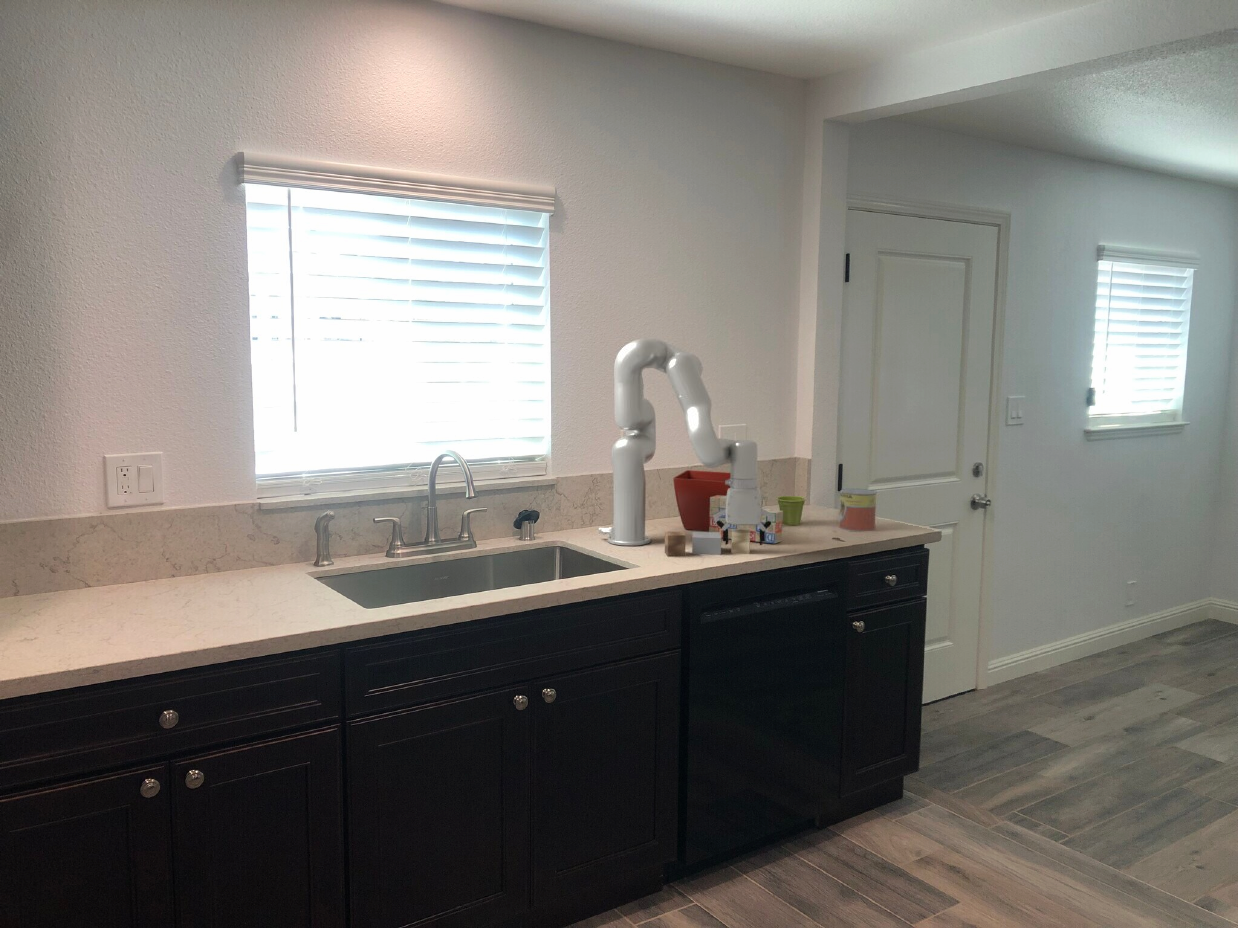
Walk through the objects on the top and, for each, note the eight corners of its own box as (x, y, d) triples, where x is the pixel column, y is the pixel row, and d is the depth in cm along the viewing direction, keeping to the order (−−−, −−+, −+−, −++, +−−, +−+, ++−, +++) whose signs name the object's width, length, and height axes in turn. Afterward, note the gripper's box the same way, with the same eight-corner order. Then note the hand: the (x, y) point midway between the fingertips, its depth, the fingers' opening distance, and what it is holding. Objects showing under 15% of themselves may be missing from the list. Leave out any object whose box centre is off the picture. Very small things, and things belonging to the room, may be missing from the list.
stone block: (692, 554, 263) (692, 537, 262) (692, 548, 271) (692, 531, 270) (720, 555, 262) (721, 537, 262) (720, 549, 270) (720, 532, 270)
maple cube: (731, 553, 264) (731, 532, 264) (731, 549, 269) (732, 529, 268) (749, 554, 264) (749, 533, 263) (749, 550, 268) (750, 529, 268)
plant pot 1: (731, 535, 289) (733, 481, 287) (671, 530, 295) (672, 477, 292) (742, 524, 307) (743, 473, 305) (685, 520, 313) (686, 470, 310)
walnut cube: (667, 556, 260) (667, 535, 259) (664, 552, 264) (665, 531, 264) (685, 556, 260) (685, 535, 259) (682, 552, 265) (682, 531, 264)
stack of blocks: (782, 541, 281) (784, 500, 279) (774, 544, 275) (776, 502, 274) (716, 533, 291) (718, 494, 290) (708, 536, 286) (709, 496, 285)
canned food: (834, 524, 307) (836, 488, 306) (868, 524, 308) (870, 488, 306) (844, 531, 296) (845, 494, 295) (879, 531, 297) (881, 494, 295)
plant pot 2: (792, 528, 301) (793, 501, 300) (770, 523, 308) (770, 497, 307) (811, 524, 306) (811, 498, 305) (788, 520, 314) (789, 495, 313)
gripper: (712, 485, 261) (712, 546, 263) (775, 486, 259) (774, 547, 261) (713, 482, 269) (713, 540, 271) (774, 482, 266) (774, 541, 268)
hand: (743, 543), depth 266 cm, fingers open, 9 cm apart
